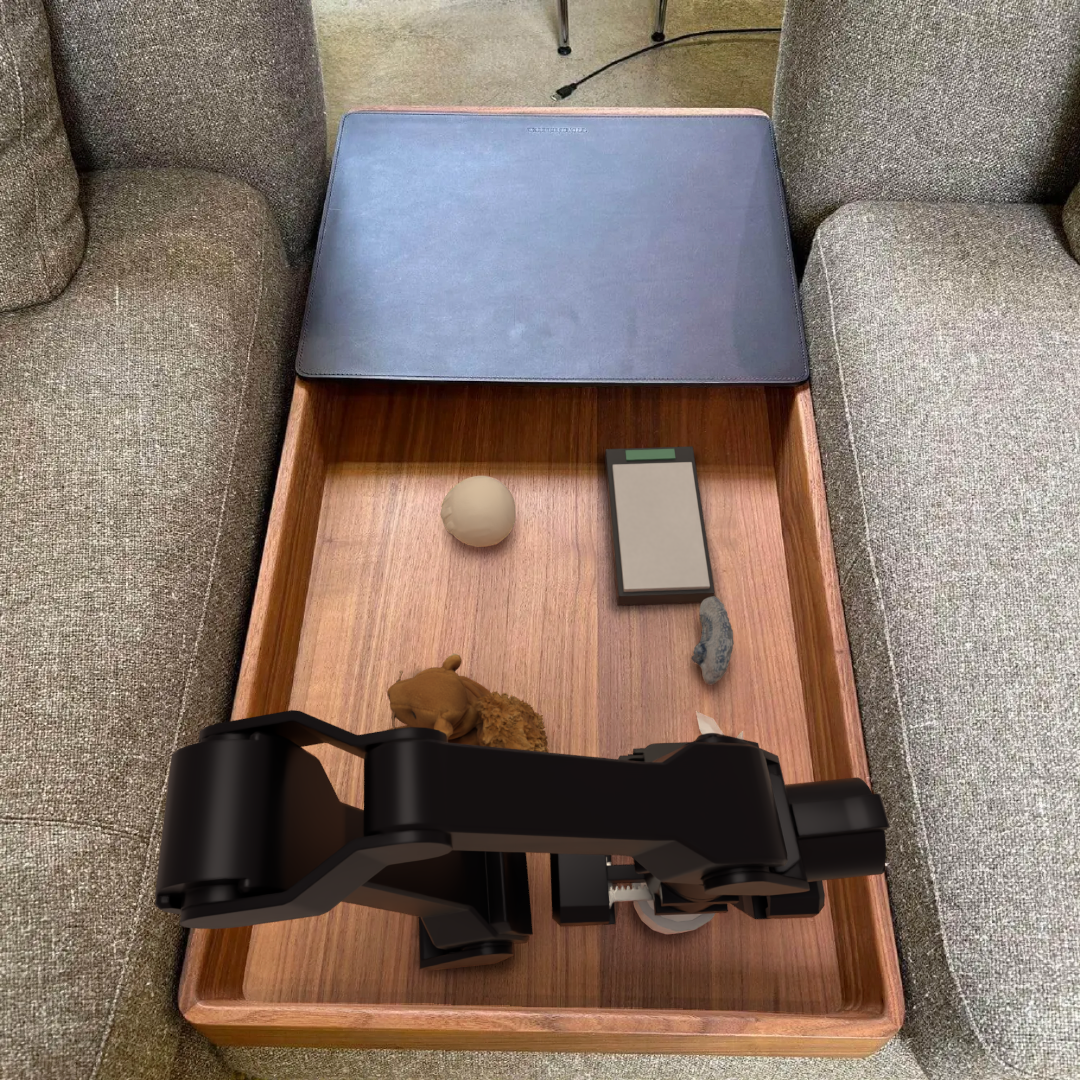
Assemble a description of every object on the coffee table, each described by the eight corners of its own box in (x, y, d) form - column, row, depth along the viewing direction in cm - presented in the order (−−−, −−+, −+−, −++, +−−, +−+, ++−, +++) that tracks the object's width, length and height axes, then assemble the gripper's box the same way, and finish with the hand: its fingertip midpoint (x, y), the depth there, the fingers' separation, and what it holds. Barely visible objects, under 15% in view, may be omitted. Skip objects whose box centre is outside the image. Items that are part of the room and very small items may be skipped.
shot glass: (710, 856, 73) (725, 837, 67) (710, 947, 69) (725, 936, 63) (626, 847, 73) (633, 828, 67) (622, 938, 69) (629, 926, 63)
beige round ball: (443, 503, 90) (436, 464, 85) (515, 499, 91) (513, 460, 85) (443, 561, 87) (436, 525, 81) (518, 556, 87) (516, 520, 81)
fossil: (688, 610, 84) (696, 585, 80) (725, 612, 84) (735, 587, 80) (689, 692, 80) (697, 671, 75) (728, 695, 80) (738, 674, 75)
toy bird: (670, 716, 78) (696, 695, 74) (716, 716, 80) (743, 696, 76) (690, 807, 74) (719, 790, 70) (737, 805, 76) (768, 789, 72)
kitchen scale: (711, 602, 84) (716, 590, 82) (617, 605, 84) (619, 593, 82) (690, 457, 93) (693, 442, 91) (604, 460, 93) (605, 445, 91)
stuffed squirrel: (409, 675, 81) (386, 611, 70) (562, 700, 79) (564, 640, 68) (380, 783, 76) (351, 733, 65) (542, 812, 74) (541, 767, 63)
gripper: (819, 723, 60) (770, 786, 74) (546, 733, 60) (546, 794, 74) (854, 898, 55) (794, 931, 68) (552, 909, 55) (552, 940, 68)
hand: (669, 892), depth 70 cm, fingers open, 8 cm apart
